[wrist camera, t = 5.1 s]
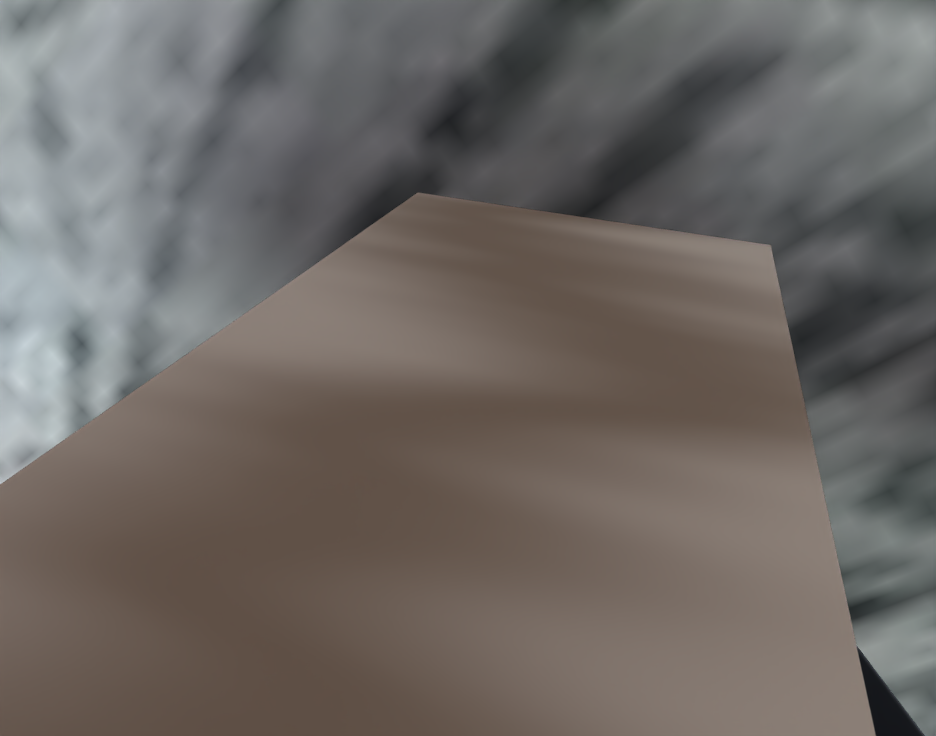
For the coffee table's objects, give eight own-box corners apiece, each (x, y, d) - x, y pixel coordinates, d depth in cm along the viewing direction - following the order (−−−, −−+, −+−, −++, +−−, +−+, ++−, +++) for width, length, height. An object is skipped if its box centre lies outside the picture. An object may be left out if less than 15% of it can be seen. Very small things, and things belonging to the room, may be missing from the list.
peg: (770, 244, 10) (1147, 1994, 1) (691, 532, 12) (637, 1799, 4) (418, 192, 11) (-642, 933, 2) (408, 465, 13) (-135, 1320, 5)
